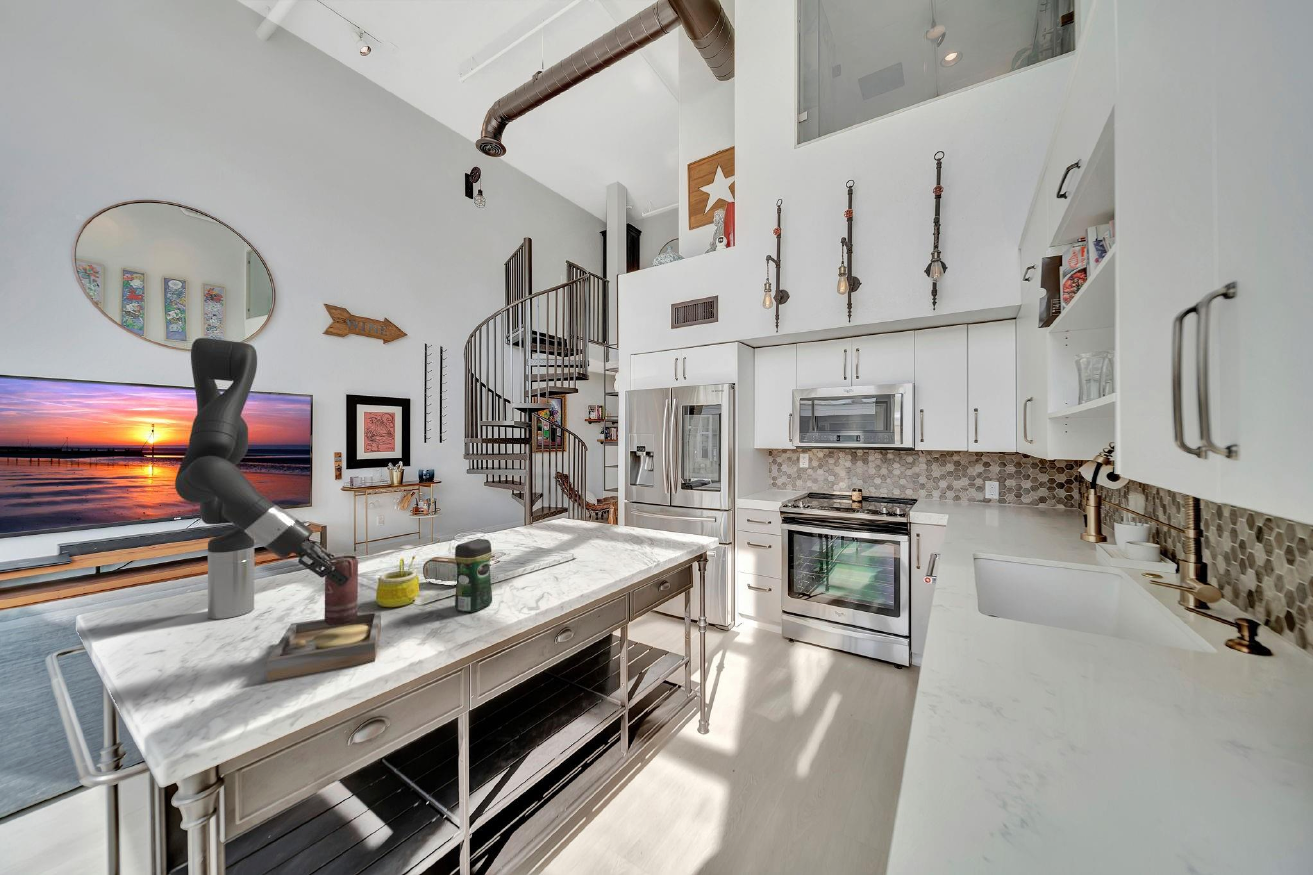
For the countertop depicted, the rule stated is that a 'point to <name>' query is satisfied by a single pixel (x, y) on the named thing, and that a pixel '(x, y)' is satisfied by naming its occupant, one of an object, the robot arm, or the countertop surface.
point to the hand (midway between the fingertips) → (345, 578)
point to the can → (342, 592)
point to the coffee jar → (473, 575)
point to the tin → (440, 569)
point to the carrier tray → (325, 646)
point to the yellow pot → (397, 587)
